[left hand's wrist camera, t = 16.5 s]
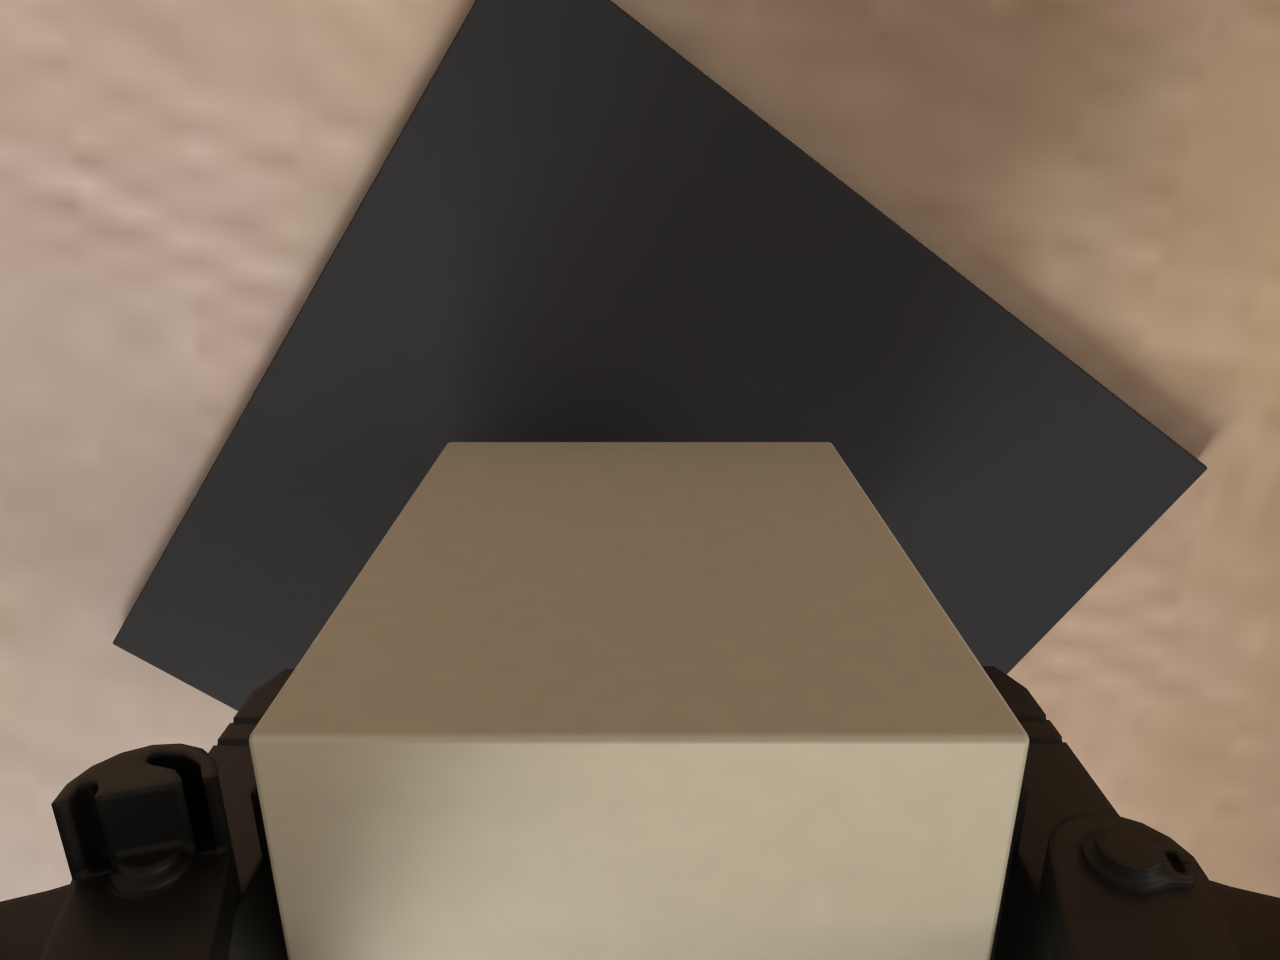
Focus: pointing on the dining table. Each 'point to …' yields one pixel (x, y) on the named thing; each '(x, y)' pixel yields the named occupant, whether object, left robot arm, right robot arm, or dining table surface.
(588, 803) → the cap block
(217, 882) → the left robot arm
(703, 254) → the rubber mat
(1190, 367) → the dining table surface
